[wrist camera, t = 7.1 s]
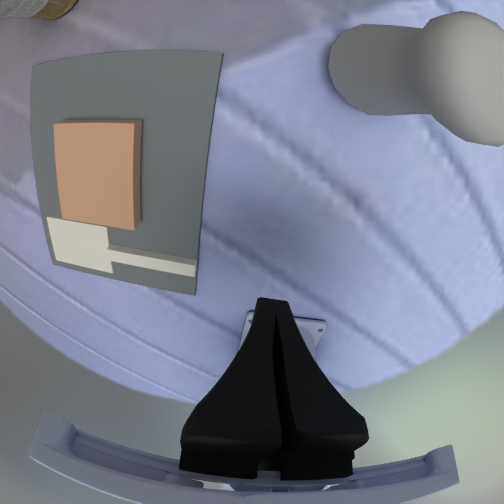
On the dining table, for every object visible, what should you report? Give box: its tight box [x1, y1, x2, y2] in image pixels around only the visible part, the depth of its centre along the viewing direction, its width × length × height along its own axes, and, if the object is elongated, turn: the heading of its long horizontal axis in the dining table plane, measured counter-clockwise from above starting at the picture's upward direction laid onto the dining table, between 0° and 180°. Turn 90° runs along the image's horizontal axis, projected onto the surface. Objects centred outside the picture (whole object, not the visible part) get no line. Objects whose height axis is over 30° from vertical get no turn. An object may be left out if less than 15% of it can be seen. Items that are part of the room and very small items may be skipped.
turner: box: [47, 215, 197, 277], centre depth 23 cm, size 15×5×1 cm, turn 80°
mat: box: [31, 50, 223, 296], centre depth 20 cm, size 20×16×1 cm
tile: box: [54, 119, 142, 231], centre depth 18 cm, size 8×2×7 cm
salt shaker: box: [328, 11, 504, 147], centre depth 9 cm, size 6×6×13 cm
